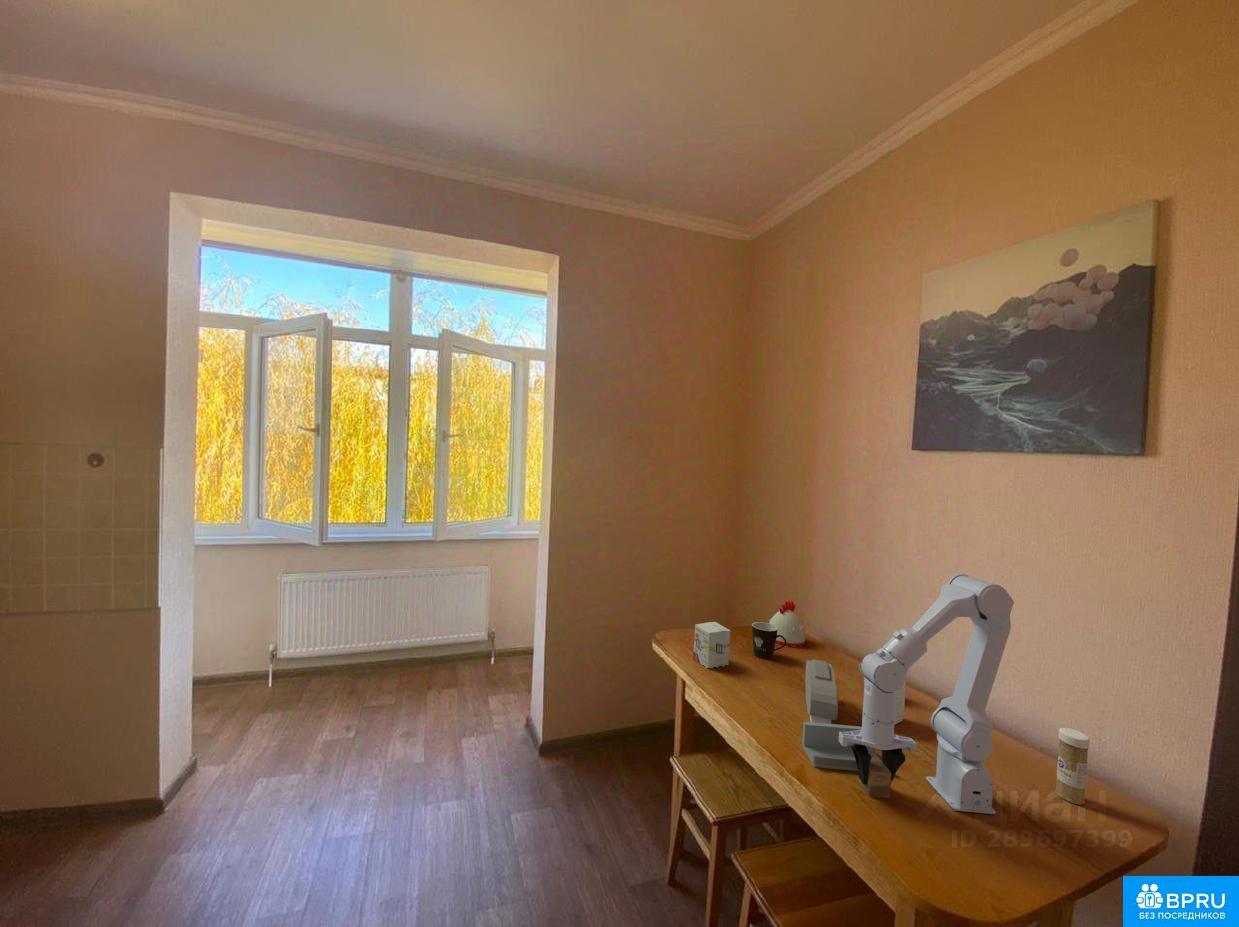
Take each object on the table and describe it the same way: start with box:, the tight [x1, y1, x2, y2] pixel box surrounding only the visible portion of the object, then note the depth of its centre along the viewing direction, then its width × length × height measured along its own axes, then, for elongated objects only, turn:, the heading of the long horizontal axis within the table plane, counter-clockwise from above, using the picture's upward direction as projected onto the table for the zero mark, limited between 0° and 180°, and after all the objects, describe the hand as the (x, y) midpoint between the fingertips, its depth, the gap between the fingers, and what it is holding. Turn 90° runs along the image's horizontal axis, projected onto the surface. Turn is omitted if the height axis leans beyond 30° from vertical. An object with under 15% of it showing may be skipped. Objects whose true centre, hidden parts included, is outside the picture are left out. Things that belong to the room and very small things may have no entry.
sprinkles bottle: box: [1054, 727, 1090, 805], centre depth 97 cm, size 5×5×14 cm
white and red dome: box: [768, 600, 806, 648], centre depth 178 cm, size 14×14×15 cm
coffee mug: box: [751, 621, 786, 660], centre depth 161 cm, size 12×9×10 cm
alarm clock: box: [804, 658, 839, 724], centre depth 126 cm, size 23×6×13 cm, turn 161°
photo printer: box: [894, 680, 907, 726], centre depth 123 cm, size 10×4×12 cm, turn 123°
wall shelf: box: [801, 721, 881, 772], centre depth 105 cm, size 8×16×6 cm, turn 87°
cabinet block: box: [858, 758, 892, 799], centre depth 96 cm, size 5×4×5 cm
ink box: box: [692, 621, 731, 669], centre depth 154 cm, size 9×9×12 cm
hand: (874, 782), depth 96 cm, fingers closed on cabinet block, 4 cm apart
